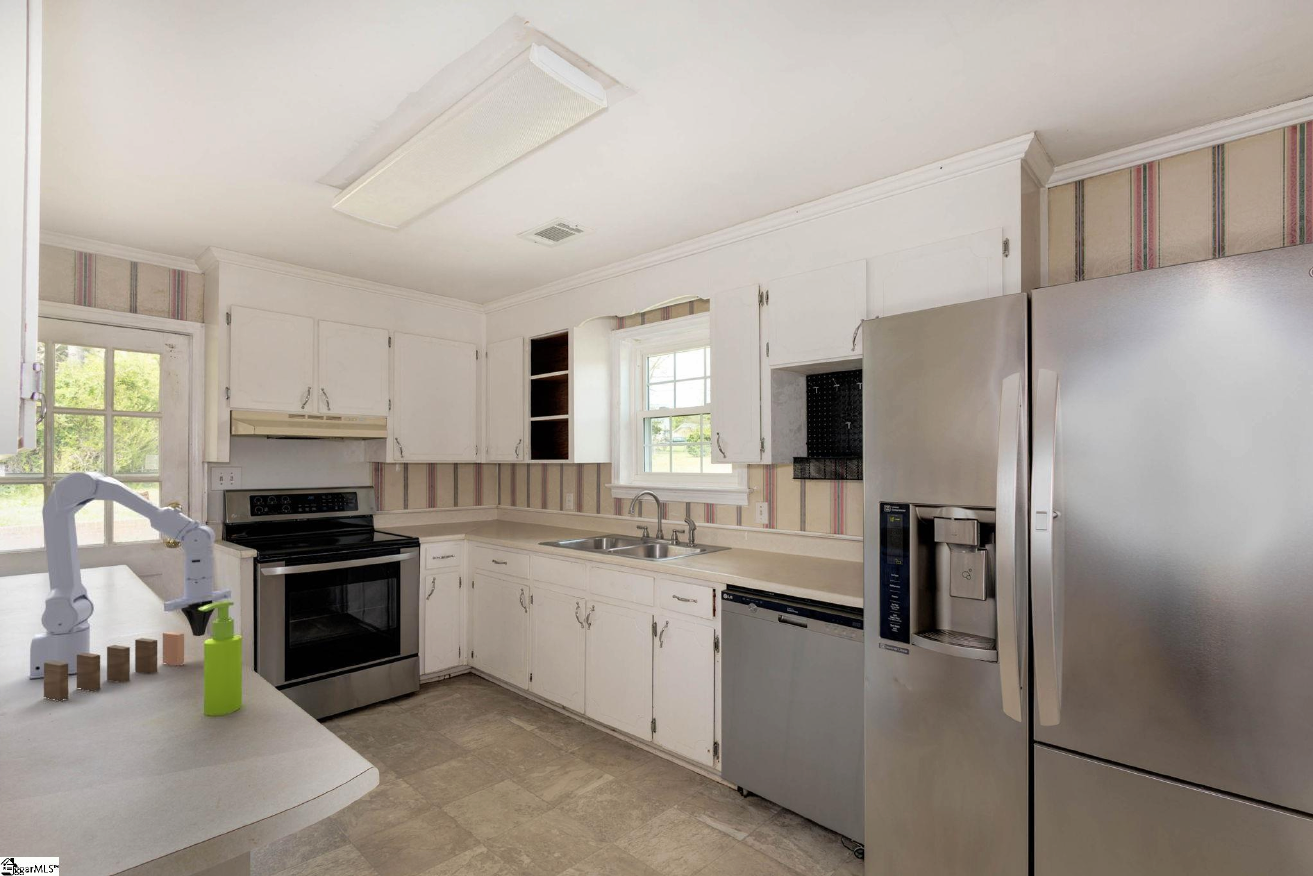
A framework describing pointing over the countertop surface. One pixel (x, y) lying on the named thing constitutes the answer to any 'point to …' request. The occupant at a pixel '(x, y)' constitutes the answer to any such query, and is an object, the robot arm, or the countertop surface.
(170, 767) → the countertop surface
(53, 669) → the end tile
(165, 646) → the lead tile
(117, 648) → the tile
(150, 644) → the tile
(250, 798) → the countertop surface
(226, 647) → the soap dispenser
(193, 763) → the countertop surface
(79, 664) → the tile
